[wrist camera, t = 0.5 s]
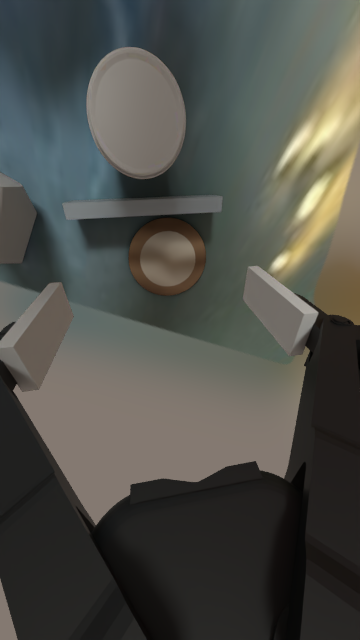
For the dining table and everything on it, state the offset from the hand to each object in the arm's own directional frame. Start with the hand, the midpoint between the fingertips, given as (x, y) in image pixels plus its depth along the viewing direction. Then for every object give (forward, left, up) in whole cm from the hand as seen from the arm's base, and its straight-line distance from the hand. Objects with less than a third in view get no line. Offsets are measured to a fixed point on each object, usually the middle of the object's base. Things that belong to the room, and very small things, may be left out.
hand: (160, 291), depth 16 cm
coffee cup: (-12, 0, -25) cm, 28 cm away
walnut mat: (+5, +3, -25) cm, 26 cm away
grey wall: (-4, 0, -25) cm, 25 cm away
